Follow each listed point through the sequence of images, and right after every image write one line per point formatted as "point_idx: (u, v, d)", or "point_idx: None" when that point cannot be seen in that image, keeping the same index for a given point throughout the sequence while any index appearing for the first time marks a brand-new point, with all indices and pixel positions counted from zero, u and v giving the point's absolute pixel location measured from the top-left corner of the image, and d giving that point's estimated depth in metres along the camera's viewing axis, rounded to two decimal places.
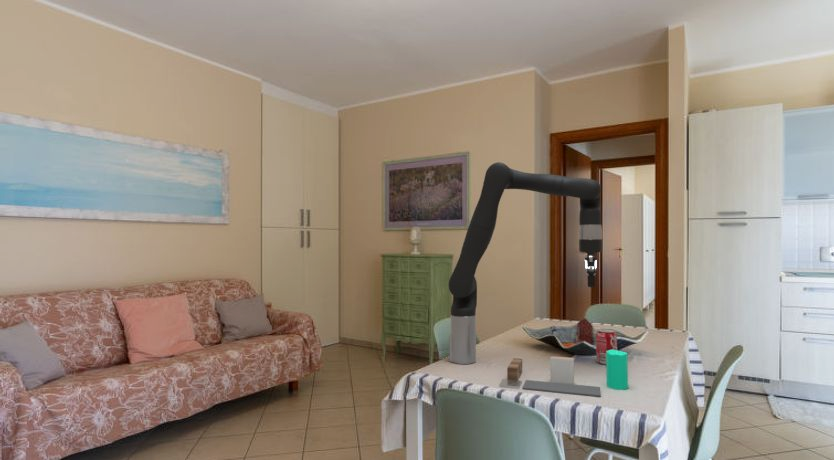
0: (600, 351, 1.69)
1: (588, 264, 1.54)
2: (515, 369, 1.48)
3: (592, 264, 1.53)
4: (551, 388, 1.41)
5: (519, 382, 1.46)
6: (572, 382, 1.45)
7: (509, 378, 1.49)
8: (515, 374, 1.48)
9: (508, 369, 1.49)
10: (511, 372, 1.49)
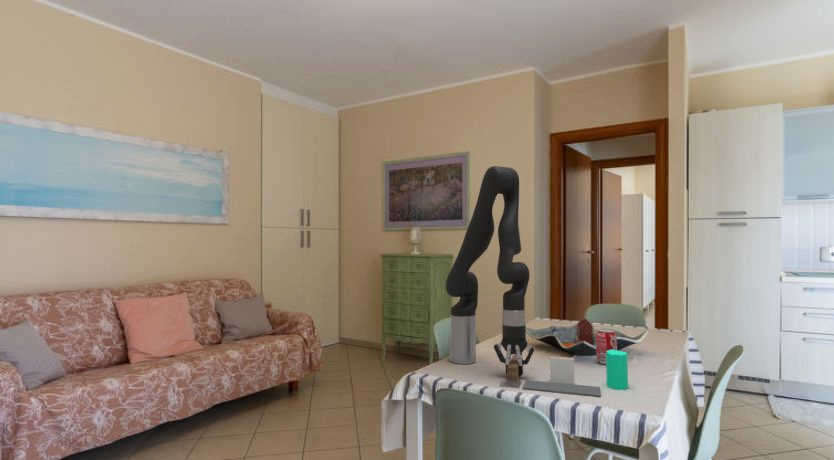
0: (600, 351, 1.69)
1: None
2: (515, 369, 1.48)
3: None
4: (551, 388, 1.41)
5: (519, 382, 1.46)
6: (572, 382, 1.45)
7: (509, 378, 1.49)
8: (515, 374, 1.48)
9: (508, 369, 1.49)
10: (511, 372, 1.48)
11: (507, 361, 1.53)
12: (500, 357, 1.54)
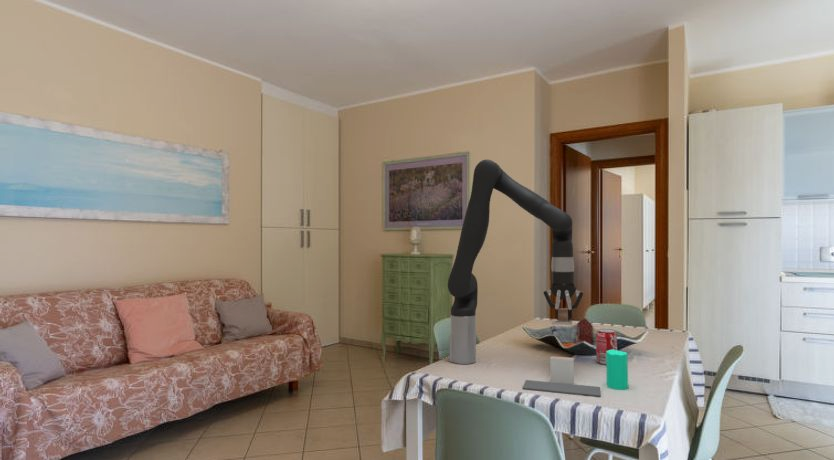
0: (600, 351, 1.69)
1: None
2: (565, 310, 1.57)
3: None
4: (551, 388, 1.41)
5: (570, 321, 1.54)
6: (572, 382, 1.45)
7: (560, 319, 1.57)
8: (565, 315, 1.57)
9: (559, 311, 1.58)
10: (562, 313, 1.57)
11: (557, 306, 1.62)
12: (550, 302, 1.62)
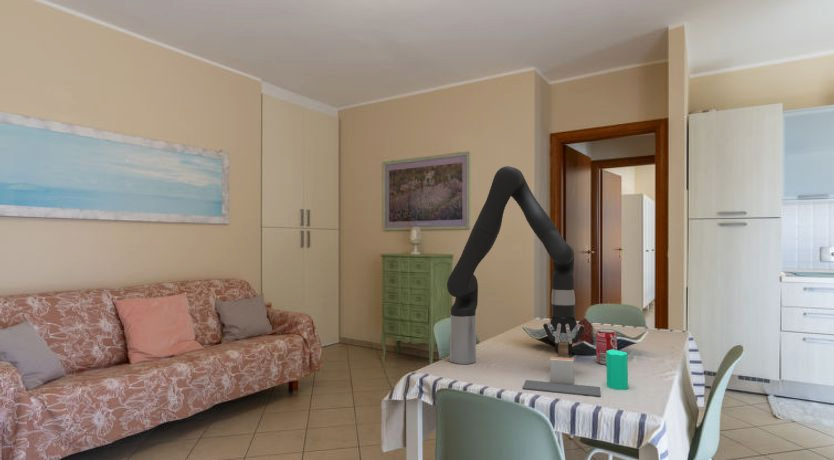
0: (600, 351, 1.69)
1: None
2: (566, 345, 1.53)
3: None
4: (551, 388, 1.41)
5: (571, 357, 1.50)
6: (572, 382, 1.45)
7: (560, 354, 1.53)
8: (566, 350, 1.52)
9: (559, 345, 1.53)
10: (562, 348, 1.53)
11: (557, 339, 1.57)
12: (550, 336, 1.58)
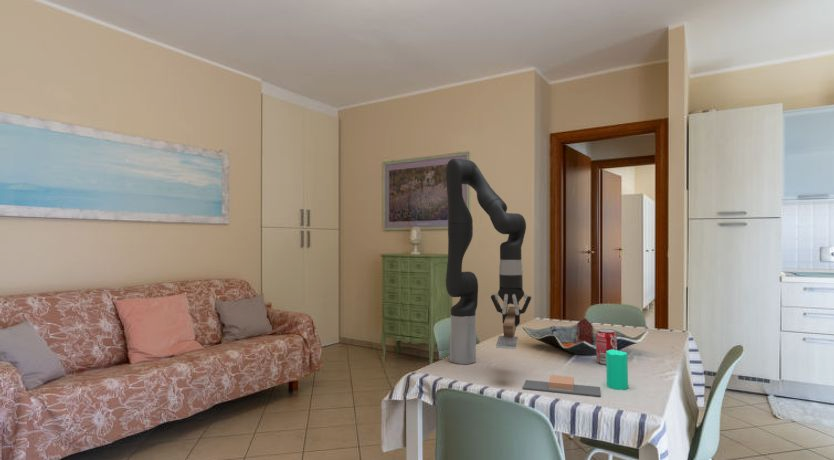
0: (600, 351, 1.69)
1: (527, 305, 1.52)
2: (511, 326, 1.48)
3: (528, 304, 1.53)
4: None
5: (515, 339, 1.47)
6: None
7: (505, 334, 1.50)
8: (511, 331, 1.48)
9: (504, 327, 1.49)
10: (507, 329, 1.49)
11: (504, 310, 1.54)
12: (497, 307, 1.55)
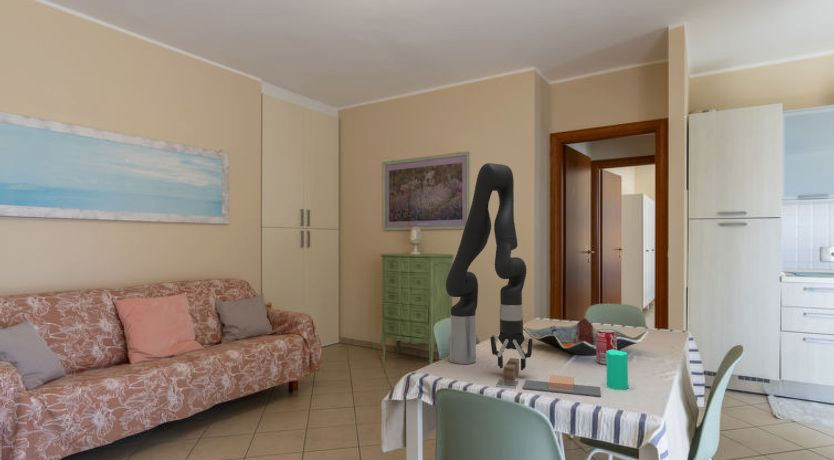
0: (600, 351, 1.69)
1: (531, 347, 1.52)
2: (512, 369, 1.48)
3: None
4: None
5: (516, 382, 1.46)
6: None
7: (506, 378, 1.49)
8: (512, 374, 1.48)
9: (505, 369, 1.49)
10: (508, 372, 1.48)
11: (499, 353, 1.55)
12: (493, 349, 1.55)
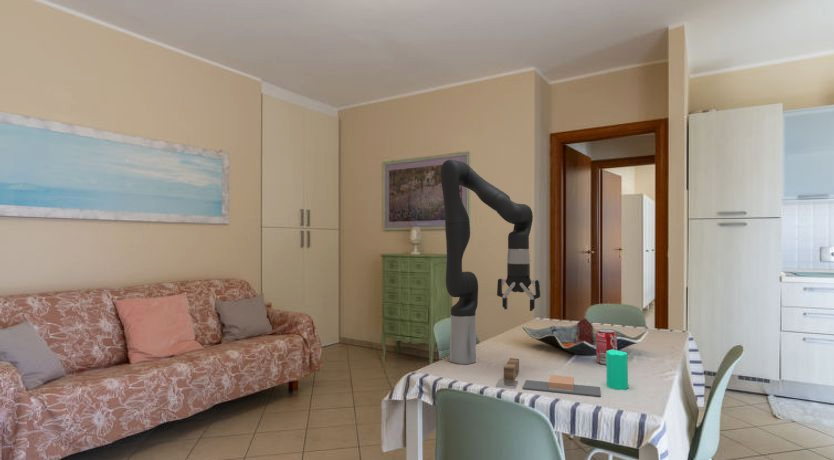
0: (600, 351, 1.69)
1: (539, 288, 1.56)
2: (512, 369, 1.48)
3: (539, 288, 1.57)
4: None
5: (516, 382, 1.46)
6: None
7: (506, 378, 1.49)
8: (512, 374, 1.48)
9: (505, 369, 1.49)
10: (508, 372, 1.49)
11: (504, 295, 1.60)
12: (499, 291, 1.60)
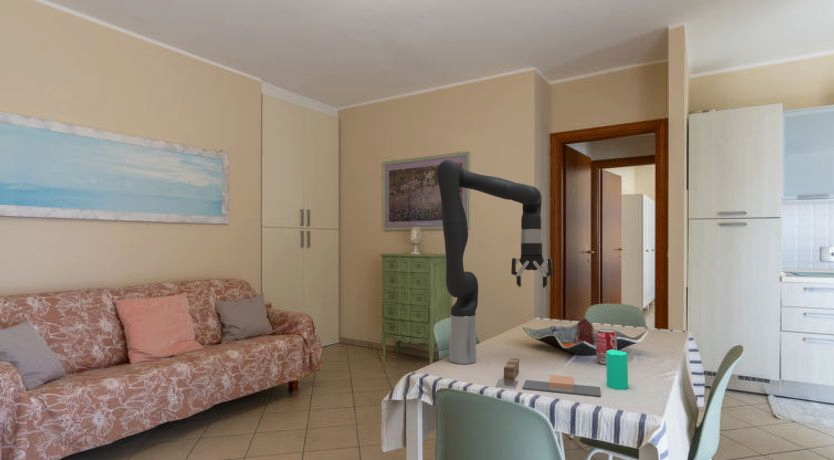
0: (600, 351, 1.69)
1: (551, 266, 1.65)
2: (512, 369, 1.48)
3: (551, 266, 1.66)
4: None
5: (516, 382, 1.46)
6: None
7: (506, 378, 1.49)
8: (512, 374, 1.48)
9: (505, 369, 1.49)
10: (508, 372, 1.49)
11: (518, 273, 1.69)
12: (513, 270, 1.69)
